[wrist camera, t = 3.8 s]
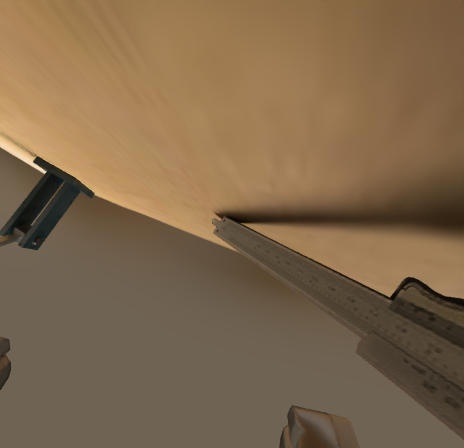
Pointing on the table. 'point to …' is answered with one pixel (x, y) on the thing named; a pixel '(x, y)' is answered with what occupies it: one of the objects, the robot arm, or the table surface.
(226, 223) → the caliper
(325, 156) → the table surface
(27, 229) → the lever
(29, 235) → the bracket
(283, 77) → the table surface
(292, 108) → the table surface
